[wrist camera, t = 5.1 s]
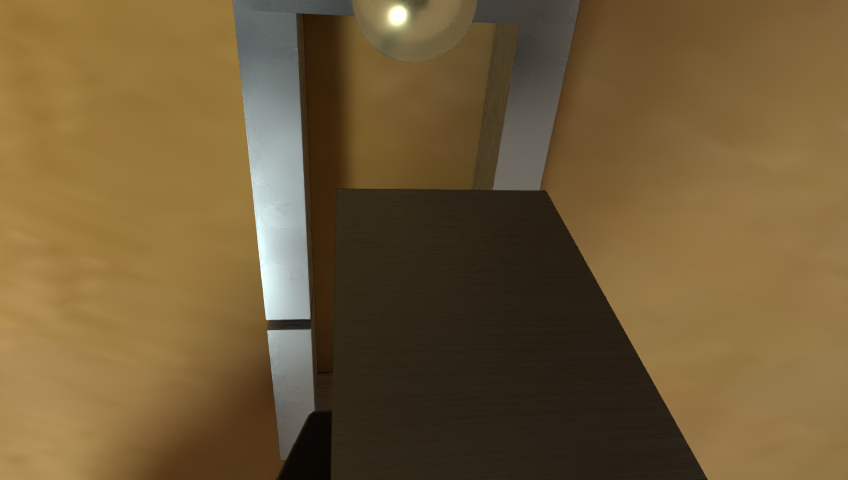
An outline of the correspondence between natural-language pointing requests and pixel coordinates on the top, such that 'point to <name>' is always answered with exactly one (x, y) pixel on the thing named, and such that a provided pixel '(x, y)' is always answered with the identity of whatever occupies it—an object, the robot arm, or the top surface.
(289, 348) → the end link
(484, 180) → the end link
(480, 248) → the block with brass studs
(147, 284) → the top surface
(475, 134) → the top surface
